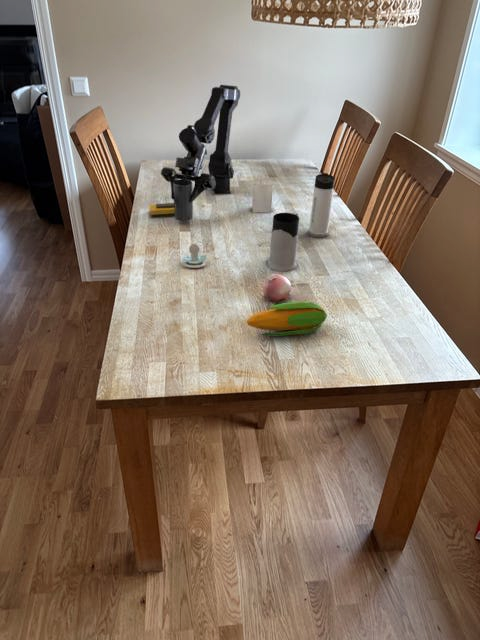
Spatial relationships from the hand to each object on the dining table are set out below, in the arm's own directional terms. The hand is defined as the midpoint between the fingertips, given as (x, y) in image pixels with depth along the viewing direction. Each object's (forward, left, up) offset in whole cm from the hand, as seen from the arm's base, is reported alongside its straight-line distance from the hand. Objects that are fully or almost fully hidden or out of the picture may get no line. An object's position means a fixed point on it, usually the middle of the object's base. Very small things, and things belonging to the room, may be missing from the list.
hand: (181, 200), depth 168 cm
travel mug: (-45, +16, -8) cm, 48 cm away
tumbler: (-1, -1, -7) cm, 7 cm away
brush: (+4, -9, -8) cm, 13 cm away
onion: (-19, +54, -9) cm, 58 cm away
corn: (-17, +69, -9) cm, 71 cm away
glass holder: (-28, +33, -9) cm, 44 cm away
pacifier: (0, +31, -9) cm, 32 cm away
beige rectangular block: (-31, -7, -9) cm, 33 cm away
